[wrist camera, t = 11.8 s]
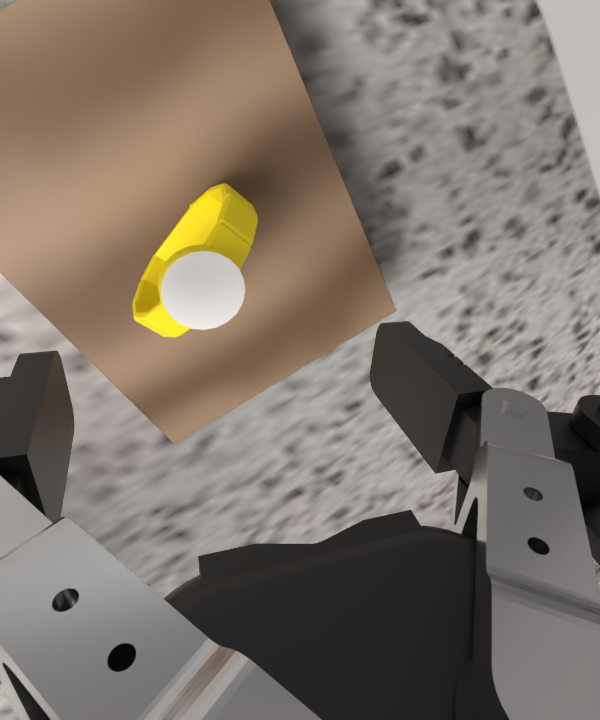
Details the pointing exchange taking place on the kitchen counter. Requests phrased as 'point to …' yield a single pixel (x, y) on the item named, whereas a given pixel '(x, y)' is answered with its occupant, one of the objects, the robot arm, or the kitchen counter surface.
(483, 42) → the kitchen counter surface
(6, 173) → the block
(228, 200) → the watch
